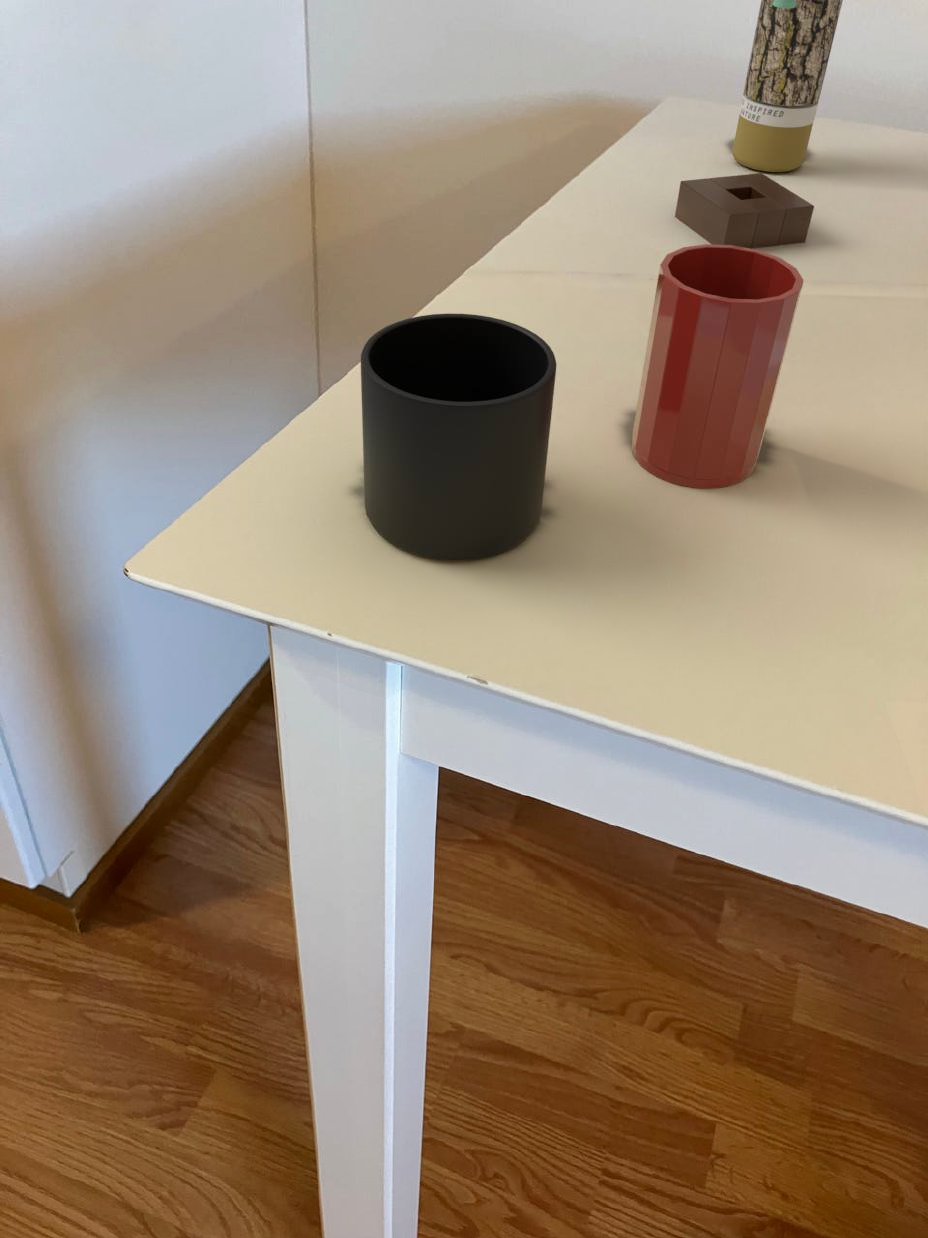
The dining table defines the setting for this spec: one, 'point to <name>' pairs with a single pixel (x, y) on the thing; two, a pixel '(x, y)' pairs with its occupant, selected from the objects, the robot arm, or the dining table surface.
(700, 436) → the cup
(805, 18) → the paper tube
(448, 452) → the mug
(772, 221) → the holder
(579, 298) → the dining table surface
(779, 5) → the straw
